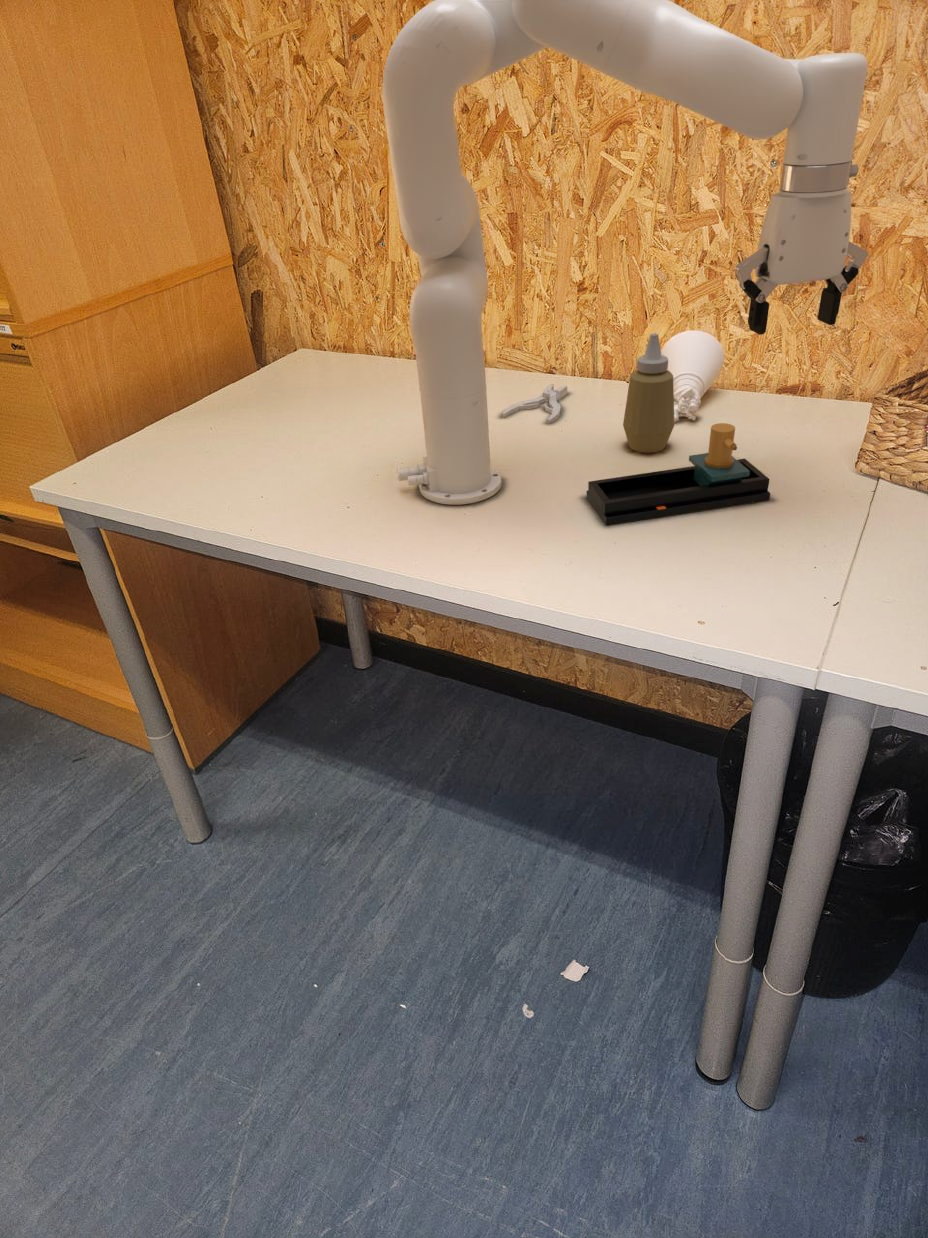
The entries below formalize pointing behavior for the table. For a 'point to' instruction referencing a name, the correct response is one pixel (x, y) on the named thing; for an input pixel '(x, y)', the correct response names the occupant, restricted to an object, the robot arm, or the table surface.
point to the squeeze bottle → (650, 401)
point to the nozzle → (718, 458)
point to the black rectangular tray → (671, 494)
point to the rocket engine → (692, 368)
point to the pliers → (548, 396)
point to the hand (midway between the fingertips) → (791, 326)
